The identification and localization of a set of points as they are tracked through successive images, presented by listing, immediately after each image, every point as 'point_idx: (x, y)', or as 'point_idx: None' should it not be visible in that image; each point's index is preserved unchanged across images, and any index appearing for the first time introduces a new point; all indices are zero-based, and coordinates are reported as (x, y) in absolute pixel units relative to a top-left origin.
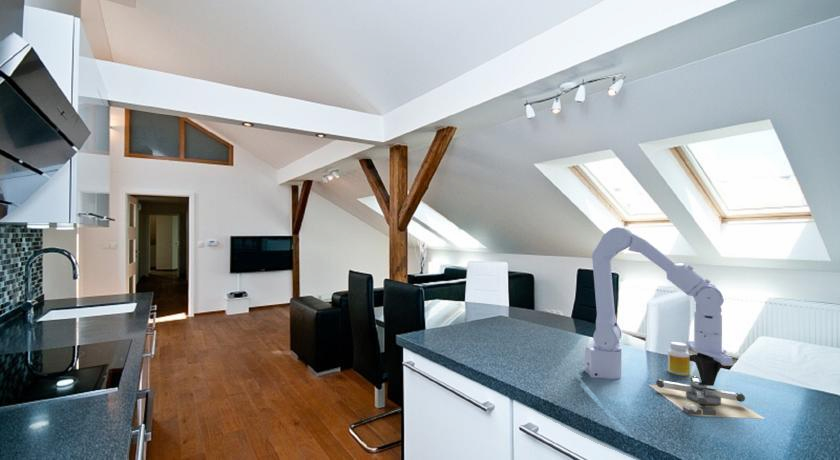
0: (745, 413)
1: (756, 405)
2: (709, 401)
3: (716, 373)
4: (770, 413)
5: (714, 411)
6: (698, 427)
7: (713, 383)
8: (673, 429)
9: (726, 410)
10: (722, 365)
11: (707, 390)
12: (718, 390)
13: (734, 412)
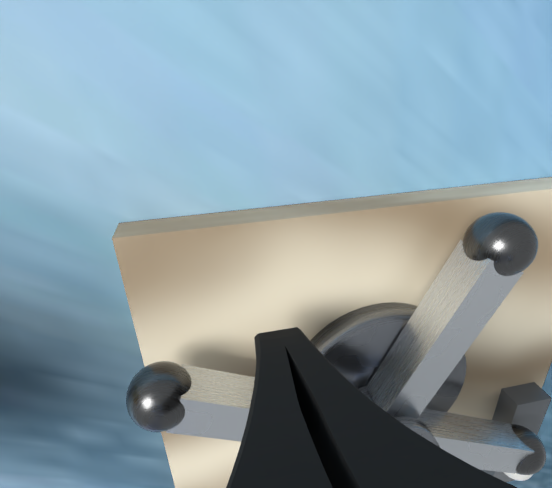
0: (547, 249)
1: (358, 15)
2: (457, 386)
3: (368, 406)
4: (488, 16)
5: (546, 399)
6: (543, 428)
7: (306, 340)
8: (538, 484)
9: (503, 322)
10: (487, 478)
11: (419, 407)
12: (438, 357)
13: (528, 297)
